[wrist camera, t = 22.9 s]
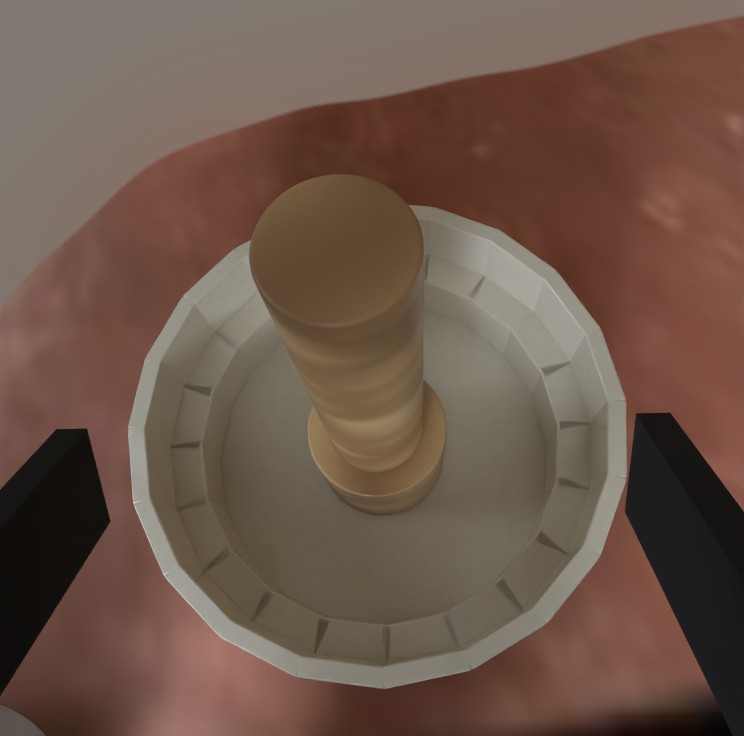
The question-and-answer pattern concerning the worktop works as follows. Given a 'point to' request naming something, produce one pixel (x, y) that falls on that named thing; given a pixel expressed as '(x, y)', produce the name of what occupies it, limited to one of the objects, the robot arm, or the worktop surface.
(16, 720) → the teacup
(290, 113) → the worktop surface
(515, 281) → the mixing bowl
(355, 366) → the wooden masher
